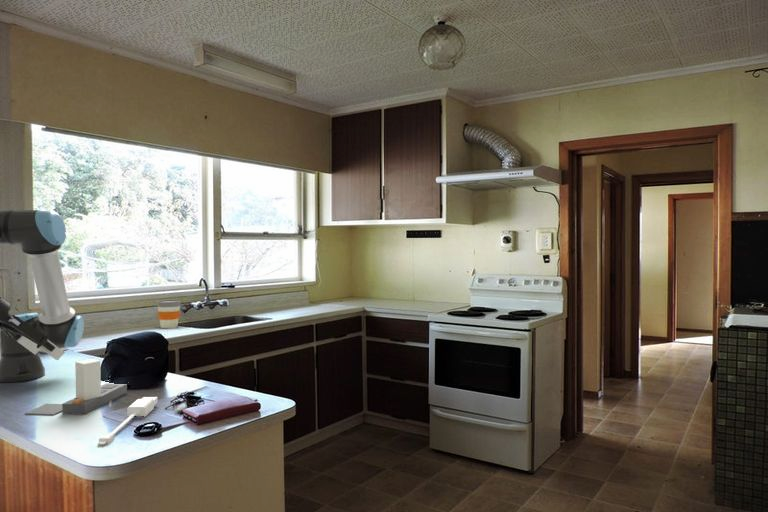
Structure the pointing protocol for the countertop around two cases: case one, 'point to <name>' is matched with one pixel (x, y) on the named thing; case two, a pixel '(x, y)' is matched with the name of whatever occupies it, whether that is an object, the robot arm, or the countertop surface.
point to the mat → (46, 410)
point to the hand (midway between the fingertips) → (49, 353)
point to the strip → (94, 399)
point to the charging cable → (136, 409)
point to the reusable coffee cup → (168, 313)
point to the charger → (88, 379)
